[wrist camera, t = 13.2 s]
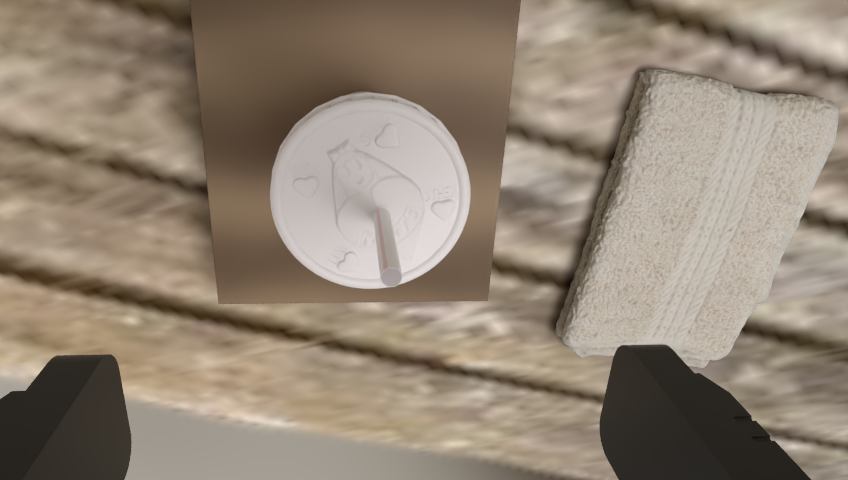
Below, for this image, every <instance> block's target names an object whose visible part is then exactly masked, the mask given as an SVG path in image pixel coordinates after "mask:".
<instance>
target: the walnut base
mask: <svg viewBox="0 0 848 480" xmlns="http://www.w3.org/2000/svg"><path fill="white" fill-rule="evenodd" d="M520 2H521V0H190V9H191V20H192V30H193V41H194V51H195V62H196V72H197V83H198V93H199V104H200V114H201V125H202V135H203V146H204V156H205V167H206V177H207V188H208V198H209V209H210V219H211V230H212V240H213V251H214V261H215V272H216V282H217V293H218V303H219V304H264V303H349V302H434V301H488V293H489V284H490V275H491V266H492V256H493V247H494V238H495V229H496V220H497V211H498V202H499V193H500V184H501V175H502V166H503V157H504V148H505V139H506V129H507V120H508V111H509V102H510V93H511V84H512V75H513V66H514V57H515V48H516V39H517V30H518V21H519V11H520ZM361 91H366V92H372V93H380V94H388V95H396V96H398V97H401V98H403V99H406V100H408V101H411V102H413V103H415V104H418V105H420V106H422V107H423V108H424V109H426V110H427V111H428V112H430V113H431V114H432V115H433V116H435V117H436V118H437V119H439V120H440V121H441V122H442V123H443V125H444V126H445V127H446V129H447V130H448V131H449V133H450V134H451V135H452V137H453V138H454V139H455V141H456V142H457V144H458V147H459V150H460V152H461V155H462V157H463V159H464V161H465V164H466V167H467V171H468V175H469V181H470V193H471V195H470V206H469V213H468V216H467V220H466V223H465V226H464V228H463V231H462V233H461V235H460V237H459V238H458V240H457V242H456V243H455V245H454V246H453V248H452V249H451V250H450V252H449V253H448V254H447V255H446V256H445V257H444V258H443V259H442V260H441V261H440V262H439V263H438V264H437V265H436V266H434V267H433V268H432V269H430V270H429V271H427V272H426V273H424V274H423V275H421V276H419V277H417V278H415V279H413V280H411V281H408V282H406V283H403V284H399V285H397V286H395V287H386V288H377V289H363V288H354V287H348V286H344V285H340V284H337V283H334V282H331V281H329V280H327V279H324V278H322V277H321V276H319V275H317V274H315V273H314V272H312V271H311V270H309V269H308V268H307V267H305V266H304V265H303V264H302V263H301V262H300V261H299V260H298V259H296V258H295V257H294V255H293V254H292V253H291V252H290V251H289V249H288V248H287V246H286V245H285V243H284V242H283V240H282V238H281V236H280V235H279V233H278V230H277V228H276V225H275V222H274V219H273V215H272V210H271V202H270V187H271V179H272V169H273V166H274V163H275V160H276V157H277V154H278V151H279V148H280V145H281V144H282V142H283V141H284V140H285V138H286V137H287V135H288V134H289V132H290V131H291V129H292V128H293V127H294V125H295V124H296V123H297V122H298V121H300V120H301V119H302V118H303V117H305V116H306V115H307V114H308V113H309V112H311V111H312V110H313V109H314V108H316V107H317V106H320V105H322V104H324V103H326V102H329V101H331V100H333V99H336V98H338V97H340V96H345V95H348V94H350V93H354V92H361Z"/></svg>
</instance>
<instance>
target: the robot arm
mask: <svg viewBox="0 0 848 480" xmlns="http://www.w3.org/2000/svg"><path fill="white" fill-rule="evenodd" d="M600 437H601V442H602V446H603V450H604V452H605V455H606V457H607V459H608V461H609V463H610V464H611V466H612V468H613V470H614V472H615V474H616V475H617V477H618V479H619V480H811V479H810V478H809V477H808V476H807V475H806V474H805V473H804V472H803V470H802V469H801V468H800V467H799V466H798V465H797V464H796V463H795V462H794V461H793V460H792V459H791V458H790V457H789V456H788V454H787V453H786V452H785V451H784V450H783V449H782V448H781V447H780V446H779V445H778V444H777V443H776V442H775V441H771V440H770V435H769V434H768V433H767V432H766V431H765V430H764V429H763V428H762V427H761V426H760V425H759V424H758V423H757V421H752V419H751V415H750V414H749V413H748V412H747V411H746V410H745V409H744V408H743V407H742V405H741V404H740V403H739V402H738V401H737V400H736V399H735V398H734V397H733V396H732V395H731V394H730V393H729V392H728V391H726V390H724V389H723V388H721V387H720V386H718V385H717V384H715V383H714V382H712V381H711V380H709V379H707V378H706V377H704V376H703V375H701V374H700V373H695V374H694V373H693V371H692V370H691V369H690V368H689V367H688V366H687V365H686V364H685V363H684V361H683V360H682V359H681V358H680V357H679V356H678V355H677V354H676V352H675V351H674V350H673V349H672V348H671V347H669V346H668V345H665V344H652V345H621V346H620V347H618V349H617V350H616V352H615V354H614V358H613V362H612V366H611V371H610V376H609V380H608V385H607V389H606V394H605V398H604V403H603V408H602V412H601V417H600ZM130 455H131V433H130V427H129V421H128V417H127V410H126V405H125V399H124V394H123V388H122V383H121V377H120V372H119V367H118V363H117V361H116V359H115V357H114V356H112V355H64V356H55V357H53V358H52V359H51V360H50V361H49V362H48V363H47V365H46V366H45V367H44V368H43V370H42V371H41V372H40V373H39V375H38V376H37V377H36V378H35V380H34V381H33V382H32V383H31V385H30V386H29V387H28V388H27V390H26V391H12V392H10V393H9V394H7V395H6V396H4V397H3V398H1V399H0V480H124V479H125V476H126V473H127V470H128V466H129V461H130Z"/></svg>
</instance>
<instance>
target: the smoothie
mask: <svg viewBox="0 0 848 480" xmlns="http://www.w3.org/2000/svg"><path fill="white" fill-rule="evenodd" d="M470 195H471V193H470V181H469V175H468V171H467V167H466V164H465V161H464V159H463V157H462V155H461V152H460V150H459V147H458V144H457V142H456V141H455V139H454V138H453V137H452V135H451V134H450V133H449V131H448V130H447V129H446V127H445V126H444V125H443V123H442V122H441V121H440V120H439V119H437V118H436V117H435V116H433V115H432V114H431V113H430V112H428V111H427V110H426V109H424V108H423V107H422V106H420V105H418V104H415V103H413V102H411V101H408V100H406V99H403V98H401V97H398V96H396V95H388V94H380V93H372V92H366V91H361V92H354V93H350V94H348V95H345V96H340V97H338V98H336V99H333V100H331V101H329V102H326V103H324V104H322V105H320V106H317V107H316V108H314V109H313V110H312V111H311V112H309V113H308V114H307V115H306V116H305V117H303V118H302V119H301V120H300V121H298V122H297V123H296V124H295V125H294V127H293V128H292V129H291V131H290V132H289V134H288V135H287V137H286V138H285V140H284V141H283V142H282V144H281V145H280V148H279V151H278V154H277V157H276V160H275V163H274V166H273V169H272V179H271V187H270V202H271V210H272V215H273V219H274V222H275V225H276V228H277V230H278V233H279V235H280V236H281V238H282V240H283V242H284V243H285V245H286V246H287V248H288V249H289V251H290V252H291V253H292V254H293V255H294V257H295V258H296V259H298V260H299V261H300V262H301V263H302V264H303V265H304V266H305V267H307V268H308V269H309V270H311V271H312V272H314V273H315V274H317V275H319V276H321V277H322V278H324V279H327V280H329V281H331V282H334V283H337V284H340V285H344V286H348V287H354V288H363V289H377V288H386V287H395V286H397V285H399V284H403V283H406V282H408V281H411V280H413V279H415V278H417V277H419V276H421V275H423V274H424V273H426V272H427V271H429V270H430V269H432V268H433V267H434V266H436V265H437V264H438V263H439V262H440V261H441V260H442V259H443V258H444V257H445V256H446V255H447V254H448V253H449V252H450V250H451V249H452V248H453V246H454V245H455V243H456V242H457V240H458V238H459V237H460V235H461V233H462V231H463V228H464V226H465V223H466V220H467V216H468V213H469V206H470Z"/></svg>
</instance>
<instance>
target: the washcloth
mask: <svg viewBox="0 0 848 480" xmlns="http://www.w3.org/2000/svg"><path fill="white" fill-rule="evenodd" d="M639 74H640V77H639V80H638V81H637V82H636V89H635V90H634V96H633V98H632V100H631V103H630V105H629V110H627V111H626V113H625V115H626V121H625V124H624V125H623V126H622V128H621V132H620V137H619V141H618V145H617V147H616V151H615V155H614V158H613V160H612V161H611V167H610V168H609V169H608V174H607V177H606V178H605V180H604V182H603V190H602V192H601V195H600V196H599V197H598V202H597V204H596V207H597V208H596V209H595V213H594V219H593V220H592V224H591V227H590V231H591V233H590V235H589V236H588V237H587V240H586V244H585V246H584V248H583V250H582V258H581V260H580V264H579V267H578V269H577V271H576V272H575V274H574V275H575V277H574V280H573V281H572V283H571V285H570V289H569V293H568V295H567V298H566V300H565V304H564V307H563V308H562V310H561V314H560V317H559V319H558V321H557V323H556V329H555V333H556V334H557V335H558V336H559V337H561V338H562V343H563V344H565V345H567V346H570V347H571V349H572V350H573V351H574V352H575V353H576V354H577V355H578V356H579V357H582V358H584V357H585V356H589V355H610V356H614V354H615V352H616V350H617V349H618V347H620V346H621V345H652V344H665V345H668V346H669V347H671V348H672V349H673V350H674V351H675V352H676V354H677V355H678V356H679V357H680V358H681V359H682V360H683V361H684V363H685V364H686V365H687V366H696V367H699V368H704V367H705V366H706V365H707V364H708V363H709V360H719V359H722V358H723V357H725V356H726V355H727V354H728V353H729V352H730V350H731V349H732V347H733V344H734V342H735V340H736V338H737V337H738V336H739V333H740V331H741V329H742V327H743V326H744V324H745V322H746V320H747V318H748V317H749V315H750V314H751V313H752V312H753V310H754V309H755V307H756V306H757V305H758V304H759V303H762V302H764V301H765V300H766V299H767V297H768V295H769V293H770V290H771V286H772V280H773V277H774V275H775V272H776V271H777V268H778V266H779V263H780V261H781V258H782V256H783V254H784V252H785V250H786V247H787V246H788V244H789V242H790V240H791V238H792V236H793V234H794V232H795V230H796V228H797V226H798V225H799V220H800V218H801V217H802V215H803V213H804V210H805V208H806V204H807V201H808V199H809V196H810V194H811V191H812V188H813V186H814V184H815V183H816V180H817V178H818V176H819V174H820V171H821V169H822V168H823V167H824V164H825V162H826V159H827V157H828V155H829V153H830V151H831V149H832V147H833V145H834V142H835V139H836V133H837V126H838V115H839V108H838V107H837V106H836V105H835V103H834V102H832V101H830V100H824V98H821V97H817V96H803V95H795V94H783V93H777V94H773V93H771V92H769V93H768V94H767V95H765V94H759V93H756V92H752V91H746V90H744V89H741V88H734V87H733V85H732V84H731V83H726V82H721V81H718V80H714V79H711V78H707V77H705V78H702V77H701V76H700V75H685V74H683V73H677V72H674V71H673V72H671V71H669V70H663V69H656V70H654V69H648V70H647V71H645V72H639Z"/></svg>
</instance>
